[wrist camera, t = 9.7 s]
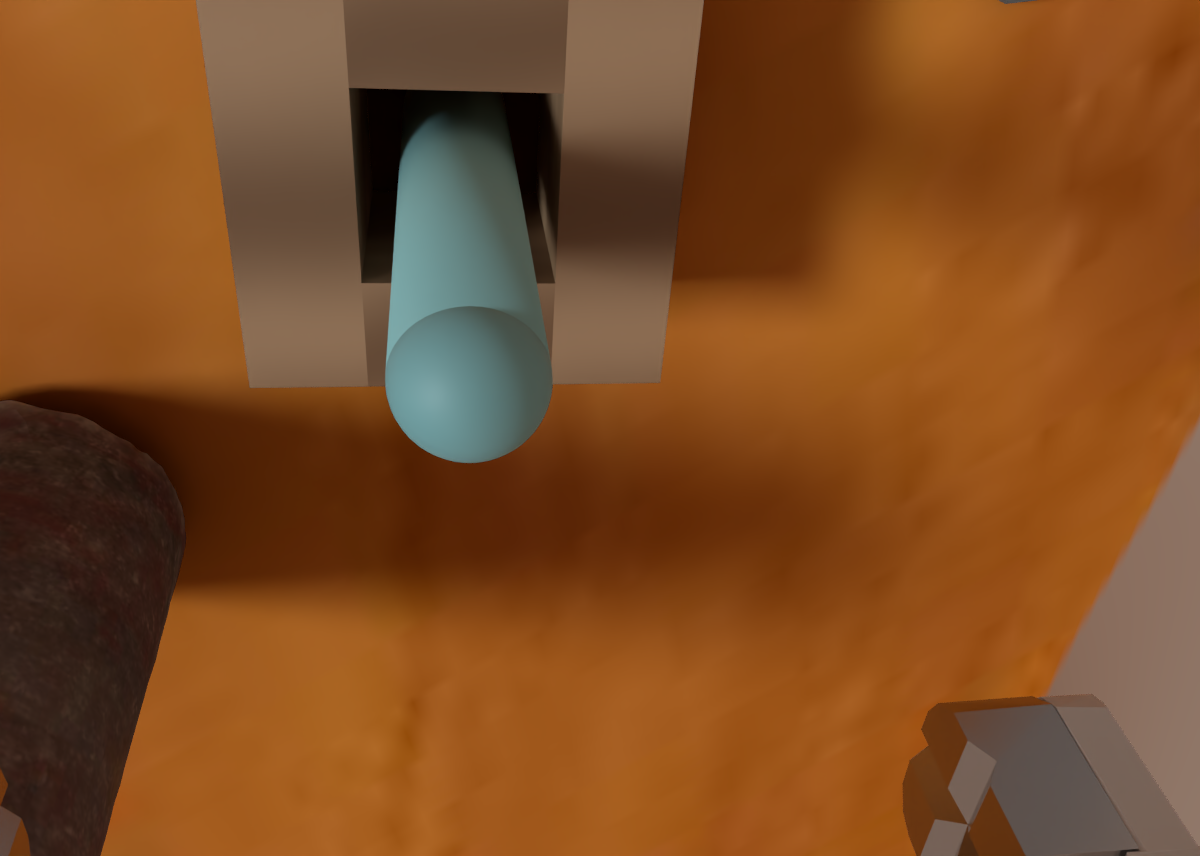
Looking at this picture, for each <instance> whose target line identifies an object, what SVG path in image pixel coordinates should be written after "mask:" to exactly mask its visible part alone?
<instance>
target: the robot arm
mask: <svg viewBox="0 0 1200 856" xmlns="http://www.w3.org/2000/svg"><path fill="white" fill-rule="evenodd" d="M921 730H922V732H923V734H924V736H925V739H926V741H927V743H928V745H929V746H927V747H926V748H925V749H924V750H922V751H921V752H920V753H918V754H917V755H916V756H915V757H913V758H912V759H911V760H910V762H909V765H908V768H907V771H906V775H905V778H904V781H903V813H904V817H905V822H906V826H907V830H908V835H909V837H910V840H911V843H912V845H913V848H914V850H915V853H916V855H917V856H1200V846H1198V845H1197V844H1196V842H1195V840H1194V839H1193V837H1192V836H1191V834H1190V833H1189V831H1188V830H1187V828H1186V827H1185V825H1184V824H1183V822H1182V821H1181V819H1180V818H1179V816H1178V814H1177V813H1176V811H1175V810H1174V808H1173V807H1172V805H1171V804H1170V802H1169V801H1168V799H1167V798H1166V796H1165V795H1164V793H1163V792H1162V790H1161V789H1160V788H1159V785H1158V784H1157V782H1156V781H1155V780H1154V778H1153V776H1152V775H1151V773H1150V772H1149V770H1148V769H1147V767H1146V766H1145V764H1144V763H1143V761H1142V760H1141V758H1140V757H1139V755H1138V753H1137V752H1136V750H1135V749H1134V747H1133V746H1132V744H1131V743H1130V741H1129V740H1128V738H1127V737H1126V735H1125V734H1124V732H1123V731H1122V729H1121V728H1120V726H1119V725H1118V723H1117V722H1116V720H1115V719H1114V717H1113V716H1112V714H1111V712H1110V711H1109V709H1108V708H1107V706H1106V705H1105V704H1104V703H1103V702H1102V701H1100V700H1099V699H1098V698H1096V697H1095V696H1094V695H1092V694H1086V695H1067V696H1052V697H1051V696H1050V697H1039V698H1036V697H1033V696H1029V697H1015V698H1002V699H988V700H974V701H960V702H947V703H938V704H937V705H935V706H934V707H933V708H932V709H930V710H929V711H928V713H927V716H926V719H925V721H924V724H923V726H922V729H921ZM7 787H8V783H7V781H6V779H5V777H4V775H3V773H2V771H1V769H0V856H30V848H29V839H28V834H27V832H26V829H25V826H24V824H23V821H22V818H20V817H19V816H17V815H15V814H14V813H12V812H10V811H9V810H7V809H5V808H3V807H2V806H1V803H2V800H3V797H4V795H5V792H6V789H7Z"/></svg>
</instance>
